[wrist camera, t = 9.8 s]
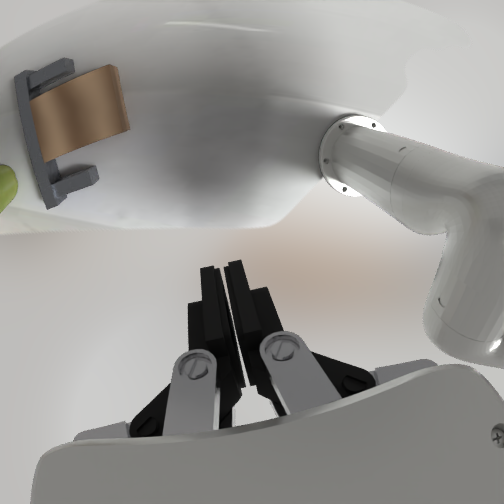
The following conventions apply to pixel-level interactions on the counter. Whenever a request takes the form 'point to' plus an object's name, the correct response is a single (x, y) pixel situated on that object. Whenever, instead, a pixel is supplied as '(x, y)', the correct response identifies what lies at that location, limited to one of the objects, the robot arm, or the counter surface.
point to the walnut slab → (79, 112)
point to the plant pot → (7, 186)
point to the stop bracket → (46, 172)
